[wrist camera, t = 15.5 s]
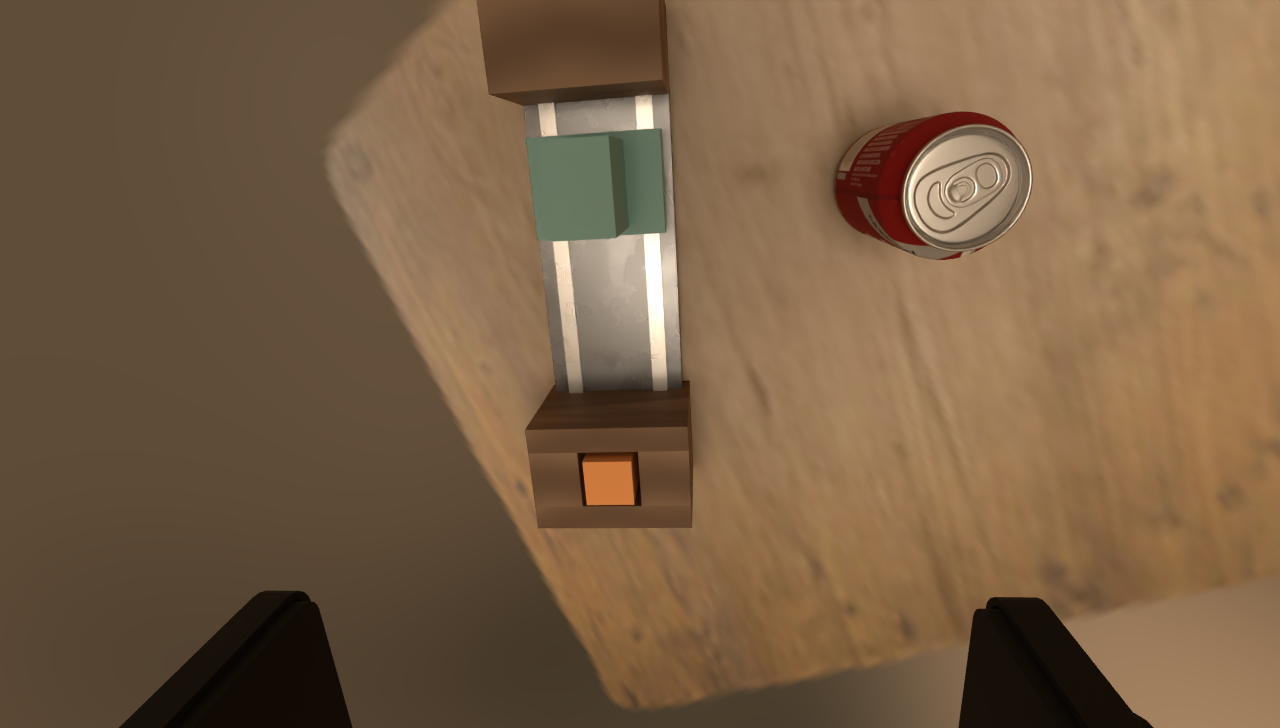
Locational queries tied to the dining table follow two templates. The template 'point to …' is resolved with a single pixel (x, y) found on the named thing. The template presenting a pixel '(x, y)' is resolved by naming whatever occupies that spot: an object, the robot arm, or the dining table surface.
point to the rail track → (613, 271)
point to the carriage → (597, 184)
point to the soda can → (935, 184)
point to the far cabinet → (613, 426)
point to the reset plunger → (611, 477)
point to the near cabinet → (573, 49)
